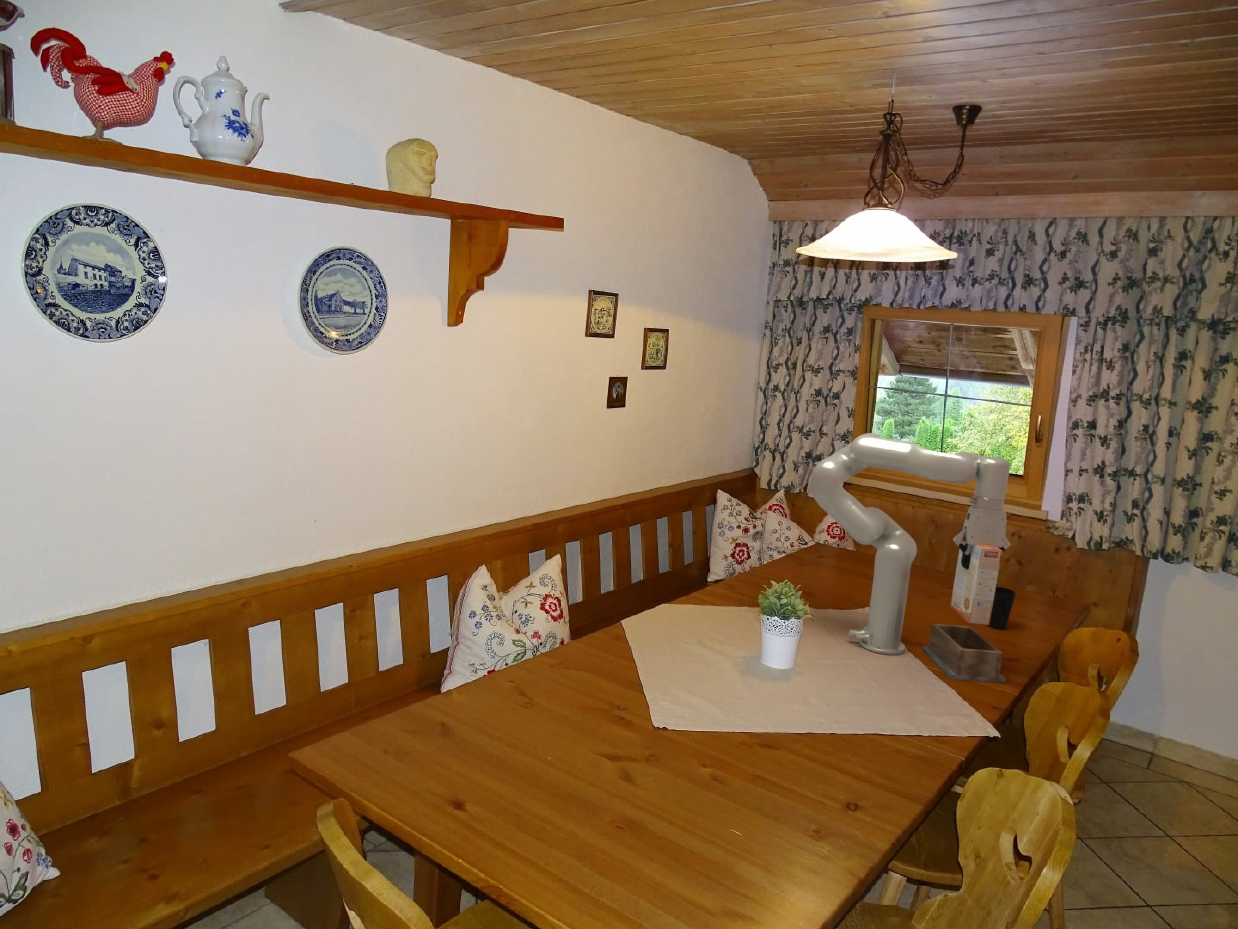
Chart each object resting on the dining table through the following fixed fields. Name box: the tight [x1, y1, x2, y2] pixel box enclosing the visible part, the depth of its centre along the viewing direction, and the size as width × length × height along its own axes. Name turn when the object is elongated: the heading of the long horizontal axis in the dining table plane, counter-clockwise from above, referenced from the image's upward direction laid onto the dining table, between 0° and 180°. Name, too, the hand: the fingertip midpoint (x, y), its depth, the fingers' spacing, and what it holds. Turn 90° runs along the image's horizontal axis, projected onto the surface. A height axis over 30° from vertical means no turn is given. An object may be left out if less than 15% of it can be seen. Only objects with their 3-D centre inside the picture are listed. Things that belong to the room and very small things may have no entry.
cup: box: [986, 586, 1017, 631], centre depth 276 cm, size 8×8×12 cm
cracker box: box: [950, 539, 1003, 626], centre depth 238 cm, size 14×6×21 cm, turn 179°
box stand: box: [920, 623, 1006, 683], centre depth 241 cm, size 15×20×8 cm
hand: (977, 568), depth 237 cm, fingers closed on cracker box, 6 cm apart
